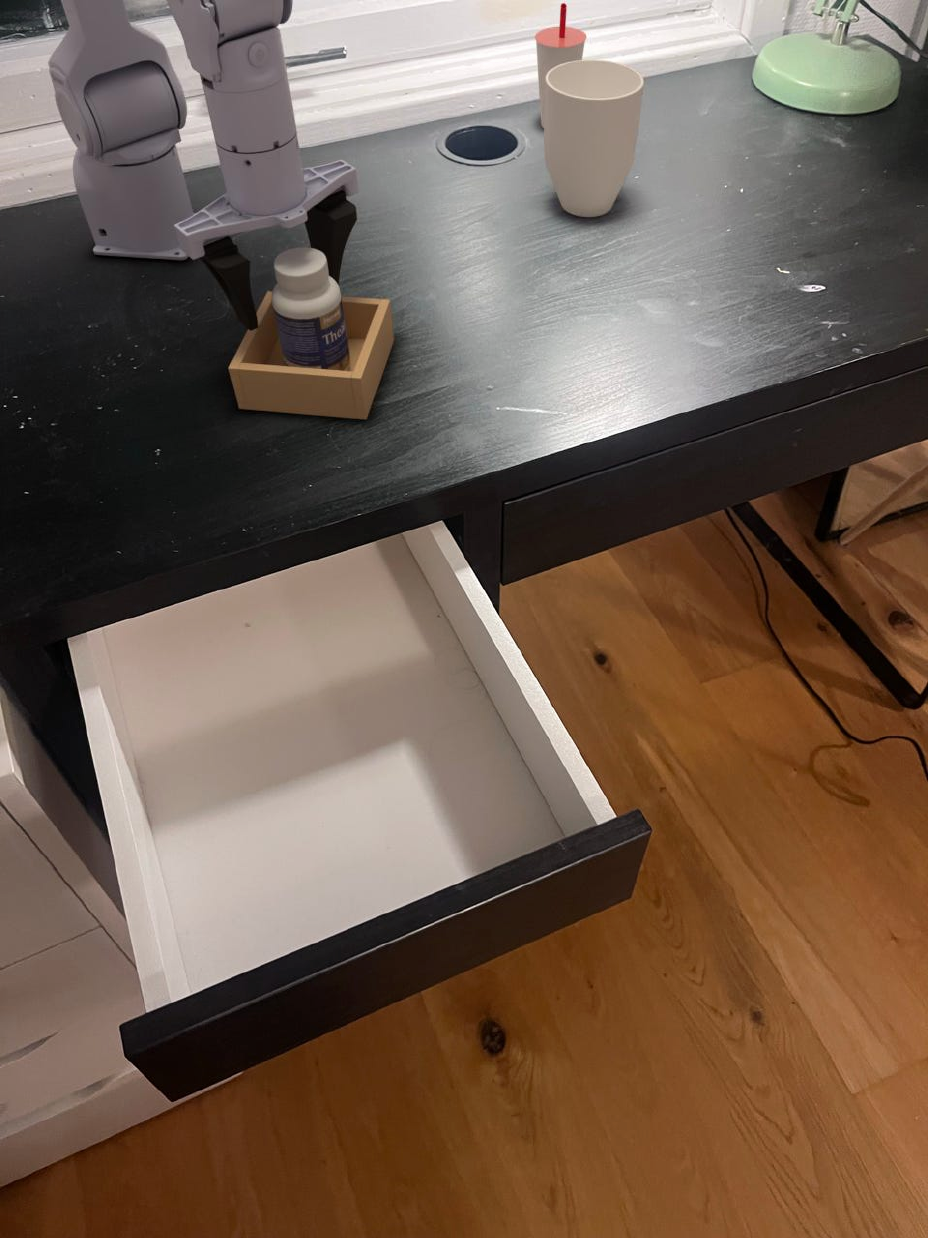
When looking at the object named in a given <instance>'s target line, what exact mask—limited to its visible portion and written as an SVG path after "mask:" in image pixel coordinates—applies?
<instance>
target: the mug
mask: <svg viewBox="0 0 928 1238" xmlns="http://www.w3.org/2000/svg"><path fill="white" fill-rule="evenodd" d="M644 81H645V80H644V77H643V76H642V74H641V73H639V72H638V71H637V70H636V69H634V67H633V68H632V67H630V66H628V65H625V64H623V63H620V62H615V61H611V60H603V59H602V60H601V59H582V60H578V61H571V62H567V63H563V64H560V65H558V66H556V67H554V68H552V69H551V70H550V71H549V72H548V73H547V75H546V89H545V120H544V128H543V134H544V136H543V145H544V147H543V150H544V159H545V165H546V169H547V171H548V174H549V177H550V179H551V182H552V184H553V187H554V190H555V192H556V196H557V198H558V201H559V203H560V206H561V207H562V209H563V210H564V211H565V212H567V213H568V214H570V215H574V216H577V217H581V218H596V217H599V216H600V217H601V216H603V215H606V214H607V213H608V212H610V211H611V210H612V207H613V205H614V204H615V201H616V199H617V197H618V195H619V193H620V191H621V190H622V187H623V186H624V183H626V182H625V181H626V180H627V178H628V176H629V175H630V171H631V170H632V166H633V163H634V159H635V154H636V149H637V143H638V136H639V135H638V134H639V128H640V127H639V126H640V117H641V110H642V109H641V108H642V99H643V91H644V84H645V83H644Z"/></svg>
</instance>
